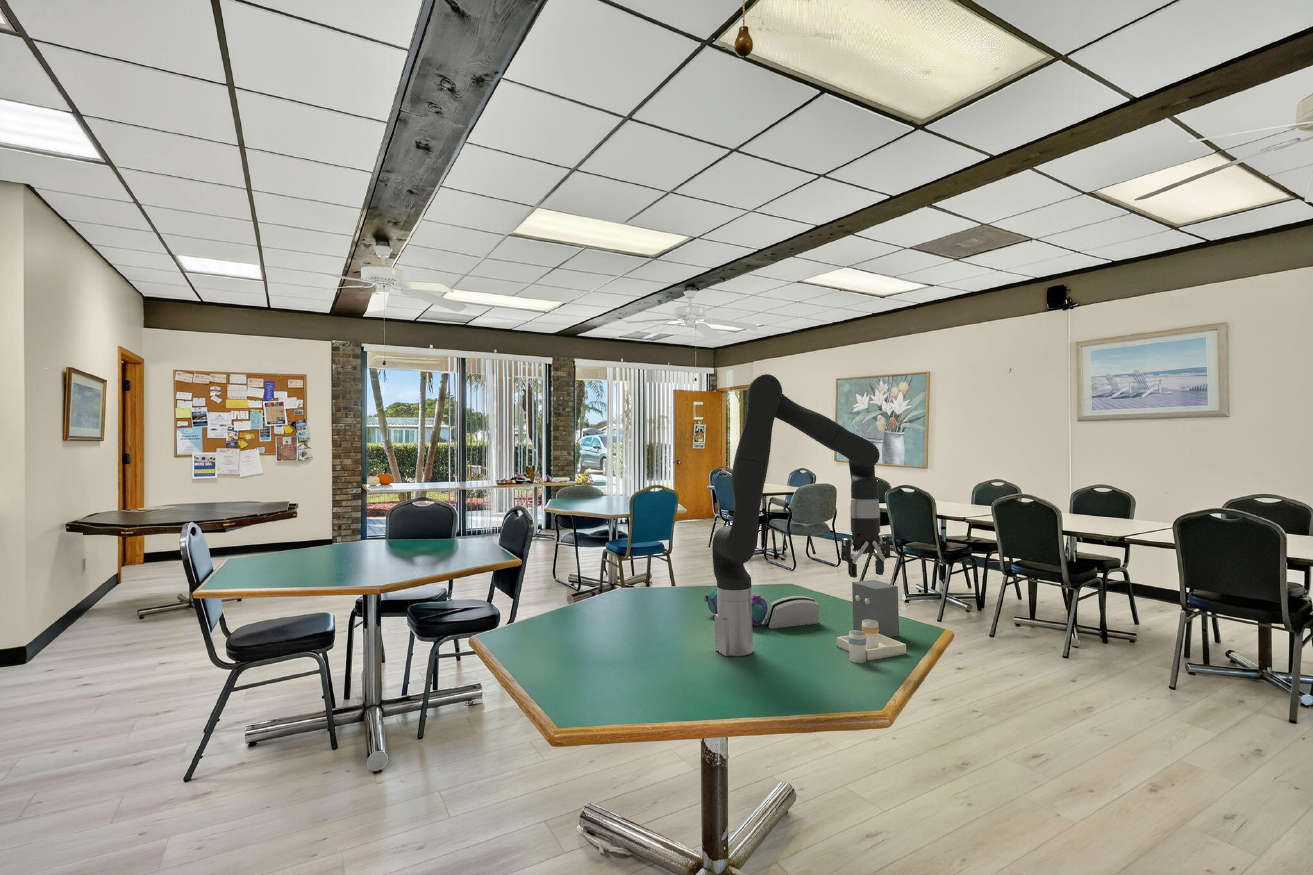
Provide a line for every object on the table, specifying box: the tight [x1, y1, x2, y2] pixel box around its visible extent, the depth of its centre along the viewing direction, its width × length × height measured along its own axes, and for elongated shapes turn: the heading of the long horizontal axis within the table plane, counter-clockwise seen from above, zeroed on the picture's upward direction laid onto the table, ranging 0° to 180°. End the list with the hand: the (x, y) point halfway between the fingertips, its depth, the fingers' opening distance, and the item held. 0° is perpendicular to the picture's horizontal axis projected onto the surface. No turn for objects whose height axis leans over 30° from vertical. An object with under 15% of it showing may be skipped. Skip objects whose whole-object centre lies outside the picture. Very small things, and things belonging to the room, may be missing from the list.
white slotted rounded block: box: [763, 595, 820, 629], centre depth 188 cm, size 17×5×10 cm, turn 107°
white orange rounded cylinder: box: [862, 620, 879, 650], centre depth 163 cm, size 4×4×7 cm
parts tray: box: [836, 634, 907, 662], centre depth 163 cm, size 12×12×2 cm
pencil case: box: [704, 586, 769, 627], centre depth 195 cm, size 21×9×10 cm, turn 37°
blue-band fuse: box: [848, 630, 867, 664], centre depth 155 cm, size 4×4×7 cm
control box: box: [851, 579, 900, 638], centre depth 179 cm, size 9×10×14 cm
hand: (866, 575), depth 165 cm, fingers open, 8 cm apart
